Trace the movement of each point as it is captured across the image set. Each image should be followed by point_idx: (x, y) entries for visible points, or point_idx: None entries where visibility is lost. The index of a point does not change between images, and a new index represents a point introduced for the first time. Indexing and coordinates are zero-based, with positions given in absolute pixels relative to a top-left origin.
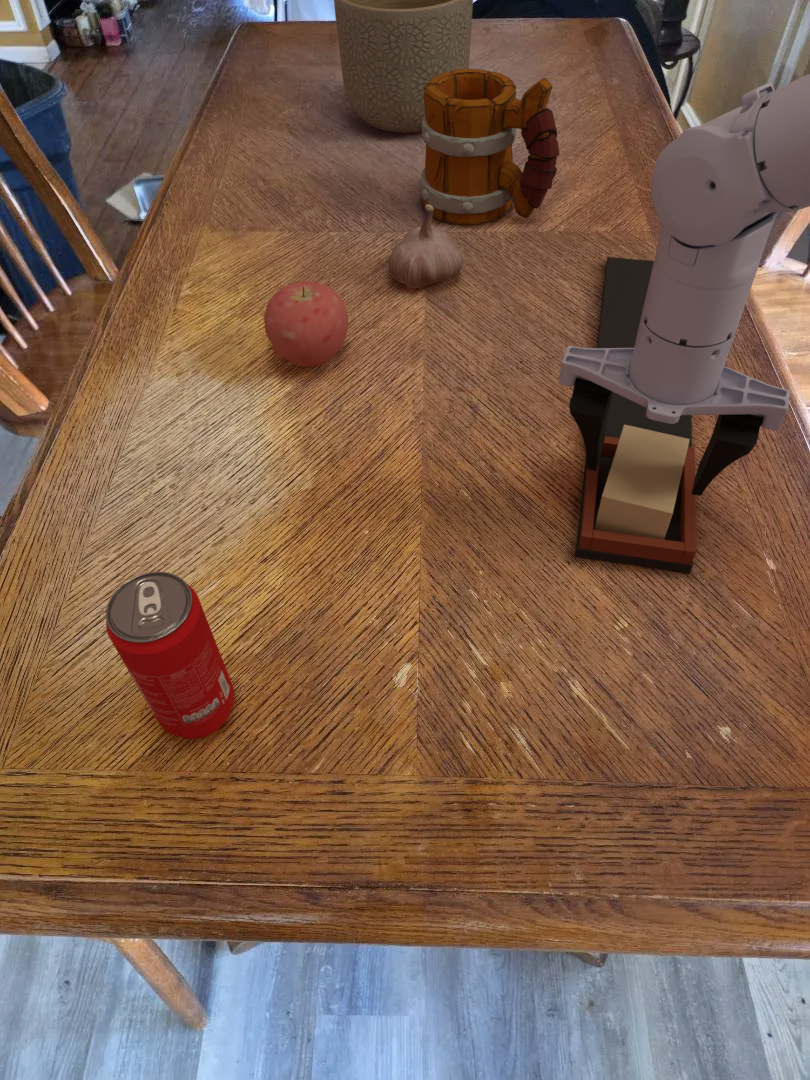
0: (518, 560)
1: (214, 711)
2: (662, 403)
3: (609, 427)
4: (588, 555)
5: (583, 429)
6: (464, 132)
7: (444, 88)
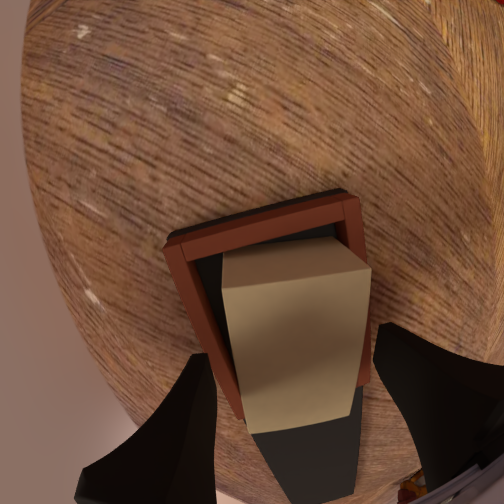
0: (402, 154)
1: None
2: None
3: None
4: (325, 192)
5: (475, 364)
6: None
7: None
